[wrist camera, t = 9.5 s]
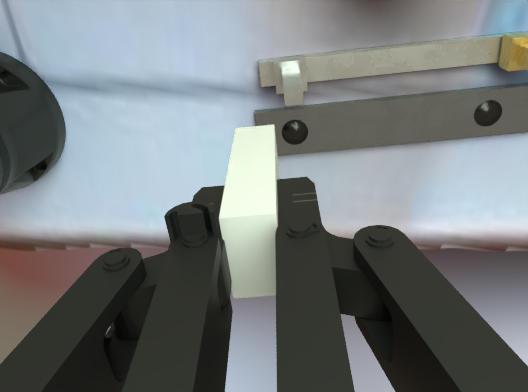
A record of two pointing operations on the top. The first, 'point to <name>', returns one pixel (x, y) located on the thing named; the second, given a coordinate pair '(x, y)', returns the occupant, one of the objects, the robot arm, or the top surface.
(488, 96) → the hole plate
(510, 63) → the slider
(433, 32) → the top surface
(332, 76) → the rail
